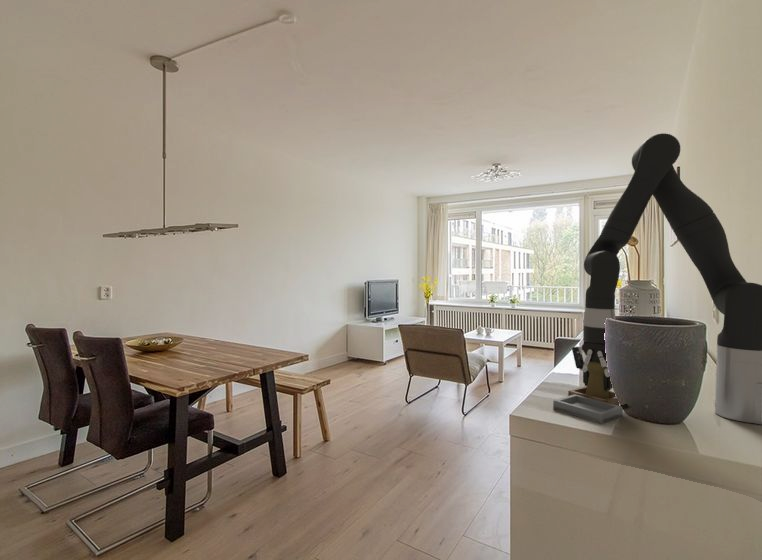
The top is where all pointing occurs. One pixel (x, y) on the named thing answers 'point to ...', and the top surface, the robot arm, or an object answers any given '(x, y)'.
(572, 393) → the socket block
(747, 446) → the top surface
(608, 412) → the tray
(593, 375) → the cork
